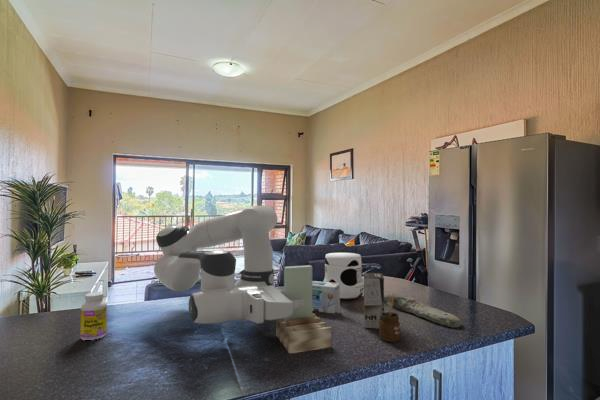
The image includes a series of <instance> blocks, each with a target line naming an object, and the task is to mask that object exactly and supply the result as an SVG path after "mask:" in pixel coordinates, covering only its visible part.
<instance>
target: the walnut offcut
mask: <svg viewBox="0 0 600 400" xmlns="http://www.w3.org/2000/svg"><path fill="white" fill-rule="evenodd" d="M319 318H320V317H318V316H317V315H315V316H313V317H305V318H297V319H289V320H286V327H289V326H297V325H305V324H312V323H319Z"/></svg>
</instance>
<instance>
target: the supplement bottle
mask: <svg viewBox="0 0 600 400" xmlns="http://www.w3.org/2000/svg"><path fill="white" fill-rule="evenodd" d="M104 296H105V295H104V292H102V291H94V292H93V291H92V292H88V293H86V294H85V295H84V300H85V302H84V303H82V304H81V306H80V339H81V340H82V341H85V340H91V341H96V340H95V339H97V340H99V338H100V339H102V338H104V337H106V336H107V331H108V330H107V329H108V327H107V325H108V324H107V323H108V322H107V321H108V320H107V319H108V303H107V301H105V300H103V299H104Z"/></svg>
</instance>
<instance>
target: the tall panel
mask: <svg viewBox="0 0 600 400" xmlns="http://www.w3.org/2000/svg"><path fill="white" fill-rule="evenodd" d="M283 268H284V269H283V274H284V275H283V290H284V295H285V296H286V297H287V298H288V299H289V300H297V299H300V298H302V299H303V300H304V306H300V307H297V308H295V309H293V314H292V315H291V316H290V317H287V318H284V322H286V320H289V319H297V318H305V317H312V314H313V311H312V282H313V266H312V265H311V264H307V265H293V266H292V265H290V266H284V267H283Z"/></svg>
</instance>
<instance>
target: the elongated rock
mask: <svg viewBox="0 0 600 400" xmlns="http://www.w3.org/2000/svg"><path fill="white" fill-rule="evenodd" d="M388 295H389V303H390V295H391V303H392V295H393V306H392V307H393V309H395V308H396V310H398V309H399V310H398V311H403V312H406V313H409V314H413V315H416V317H419V318H422V319H426V320H427V321H429V322H432V323H434V324H436V325H437V324H438V325H441V326H445V327H448V328H453V329H454V328H460V327H461V326H462V324H461V323H462V322H461V319H460V318H458V317H457V316H456V315H455V314H452V313H450V312H446V311H444V310H441V309H439V308H436V307H433V306H429V305H427V304H426V303H423V302H421V301H420V300H418V299H416V298H413V297H408V296H402V295H398V294H395V293H384V304H387V303H388ZM392 307H391V308H392Z"/></svg>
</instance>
